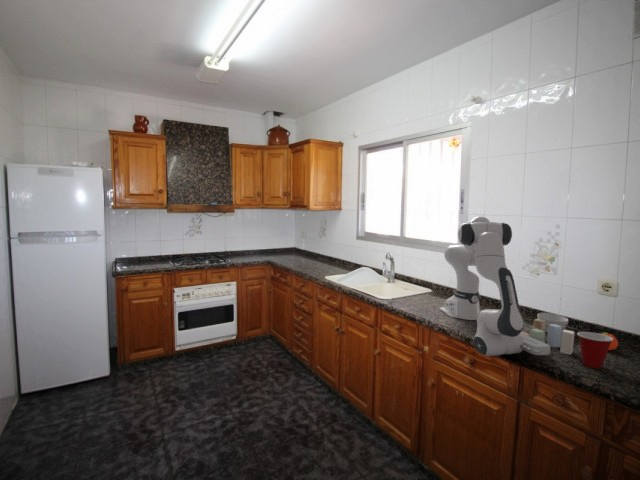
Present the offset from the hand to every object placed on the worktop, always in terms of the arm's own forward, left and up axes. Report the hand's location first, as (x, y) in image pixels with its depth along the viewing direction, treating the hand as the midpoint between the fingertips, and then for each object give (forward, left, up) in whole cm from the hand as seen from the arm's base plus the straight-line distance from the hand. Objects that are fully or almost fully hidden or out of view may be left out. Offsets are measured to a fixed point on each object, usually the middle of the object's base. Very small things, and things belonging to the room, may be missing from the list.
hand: (537, 339), depth 143 cm
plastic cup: (+15, +10, -5) cm, 19 cm away
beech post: (-10, +12, -5) cm, 17 cm away
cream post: (+4, +11, -5) cm, 13 cm away
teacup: (-16, +28, -5) cm, 33 cm away
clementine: (+5, +32, -5) cm, 33 cm away
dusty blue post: (-3, +13, -5) cm, 14 cm away
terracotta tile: (-11, +4, -5) cm, 13 cm away
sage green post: (0, -1, -5) cm, 5 cm away
